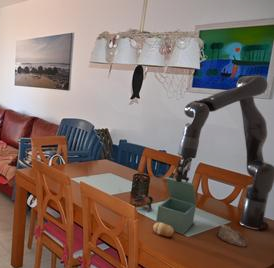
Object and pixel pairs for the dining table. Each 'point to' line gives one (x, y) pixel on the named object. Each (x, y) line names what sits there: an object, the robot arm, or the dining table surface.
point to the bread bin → (176, 214)
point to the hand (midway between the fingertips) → (180, 180)
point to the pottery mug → (148, 202)
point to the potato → (163, 229)
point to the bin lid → (181, 190)
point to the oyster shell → (230, 236)
